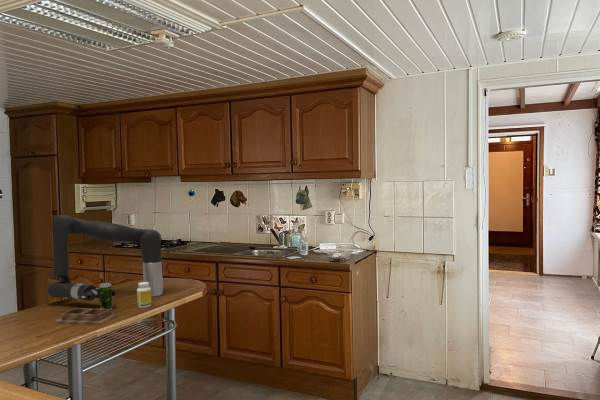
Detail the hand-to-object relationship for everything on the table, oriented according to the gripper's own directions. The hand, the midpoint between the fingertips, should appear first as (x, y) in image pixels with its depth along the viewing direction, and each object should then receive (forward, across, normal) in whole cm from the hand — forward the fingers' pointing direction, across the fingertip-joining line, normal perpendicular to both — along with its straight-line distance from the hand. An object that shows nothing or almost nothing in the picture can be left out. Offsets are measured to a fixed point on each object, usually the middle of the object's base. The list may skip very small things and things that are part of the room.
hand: (109, 295), depth 202 cm
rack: (+1, -14, +7) cm, 15 cm away
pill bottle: (+10, +11, +7) cm, 16 cm away
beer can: (-3, 0, +7) cm, 8 cm away
